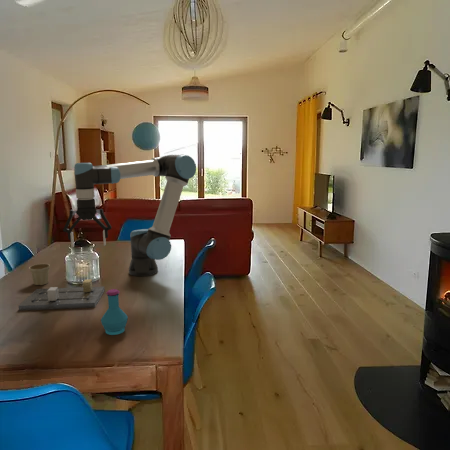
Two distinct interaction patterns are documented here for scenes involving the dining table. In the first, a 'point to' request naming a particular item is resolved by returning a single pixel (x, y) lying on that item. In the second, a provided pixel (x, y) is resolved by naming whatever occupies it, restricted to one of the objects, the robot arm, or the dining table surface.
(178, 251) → the dining table surface
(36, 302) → the console
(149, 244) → the robot arm
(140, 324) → the dining table surface
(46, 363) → the dining table surface
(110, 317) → the perfume bottle
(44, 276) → the flower pot
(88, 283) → the block
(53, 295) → the grey fader
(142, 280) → the dining table surface
